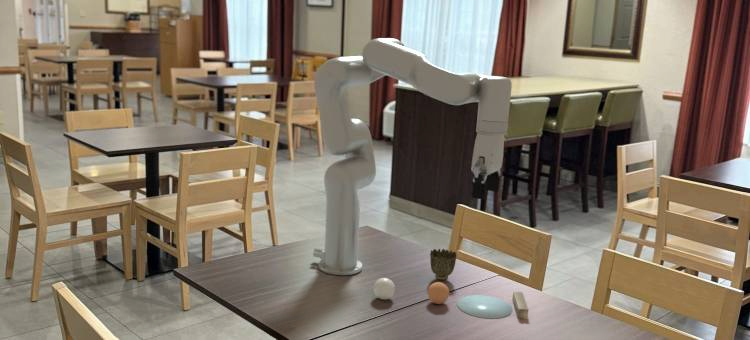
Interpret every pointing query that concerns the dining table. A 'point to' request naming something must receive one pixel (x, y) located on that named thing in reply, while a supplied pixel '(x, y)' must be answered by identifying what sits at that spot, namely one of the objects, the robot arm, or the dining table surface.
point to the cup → (442, 263)
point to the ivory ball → (384, 288)
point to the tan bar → (520, 305)
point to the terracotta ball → (438, 293)
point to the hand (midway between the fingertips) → (485, 194)
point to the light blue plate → (484, 306)
